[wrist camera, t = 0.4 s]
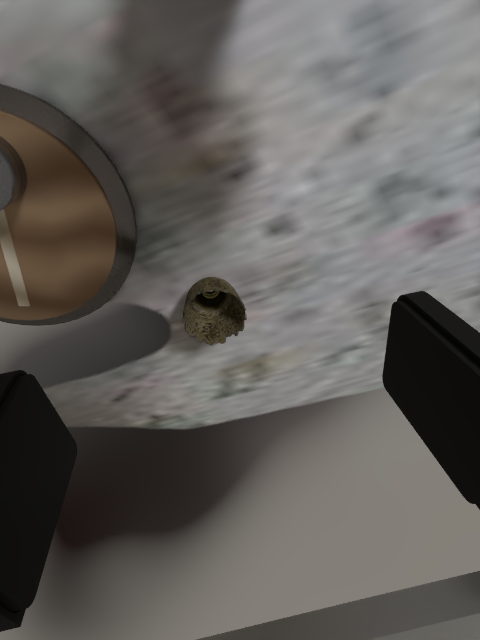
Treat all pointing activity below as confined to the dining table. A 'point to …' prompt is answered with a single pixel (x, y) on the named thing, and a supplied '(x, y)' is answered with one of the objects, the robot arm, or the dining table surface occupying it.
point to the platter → (52, 229)
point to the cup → (213, 311)
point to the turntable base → (107, 177)
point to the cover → (11, 174)
